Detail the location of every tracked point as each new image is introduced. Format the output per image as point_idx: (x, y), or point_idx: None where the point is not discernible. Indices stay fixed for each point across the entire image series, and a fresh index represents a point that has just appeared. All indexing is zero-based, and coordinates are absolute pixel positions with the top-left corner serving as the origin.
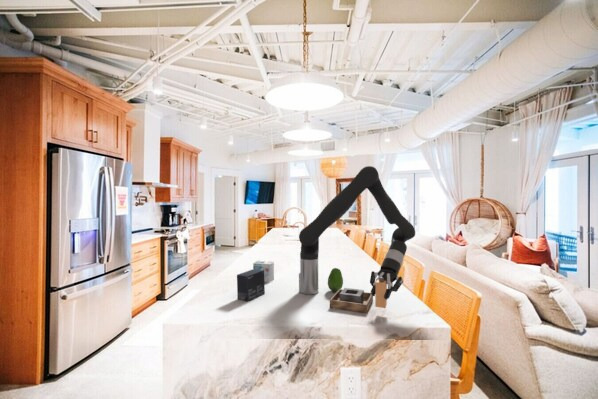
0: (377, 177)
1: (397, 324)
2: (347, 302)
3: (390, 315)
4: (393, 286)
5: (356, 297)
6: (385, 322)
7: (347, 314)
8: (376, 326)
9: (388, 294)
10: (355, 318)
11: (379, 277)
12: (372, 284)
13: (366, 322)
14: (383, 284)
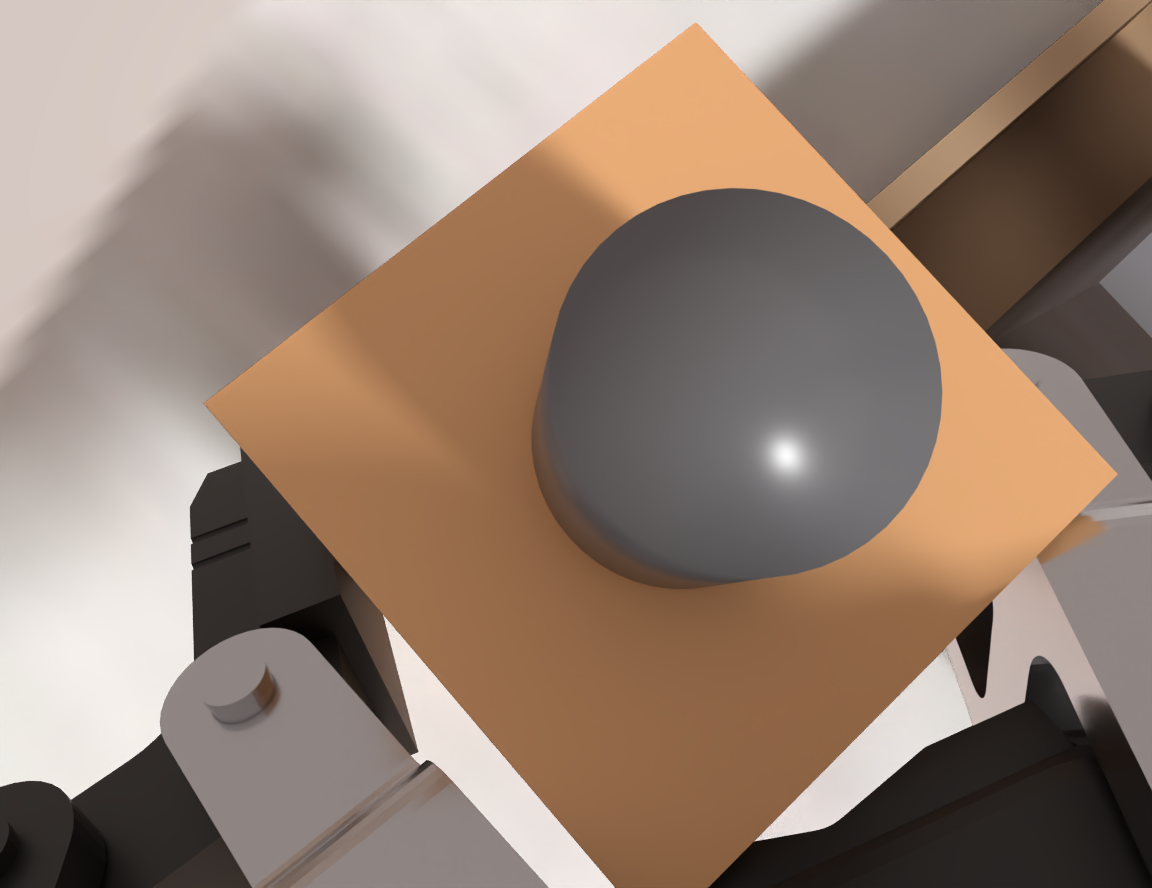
0: None
1: (14, 524)
2: (1055, 45)
3: (414, 715)
4: (31, 885)
5: (1126, 242)
6: (209, 383)
7: (817, 31)
8: (168, 129)
9: (203, 540)
10: (614, 41)
11: (859, 278)
12: (1092, 386)
13: (387, 92)
14: (337, 339)
